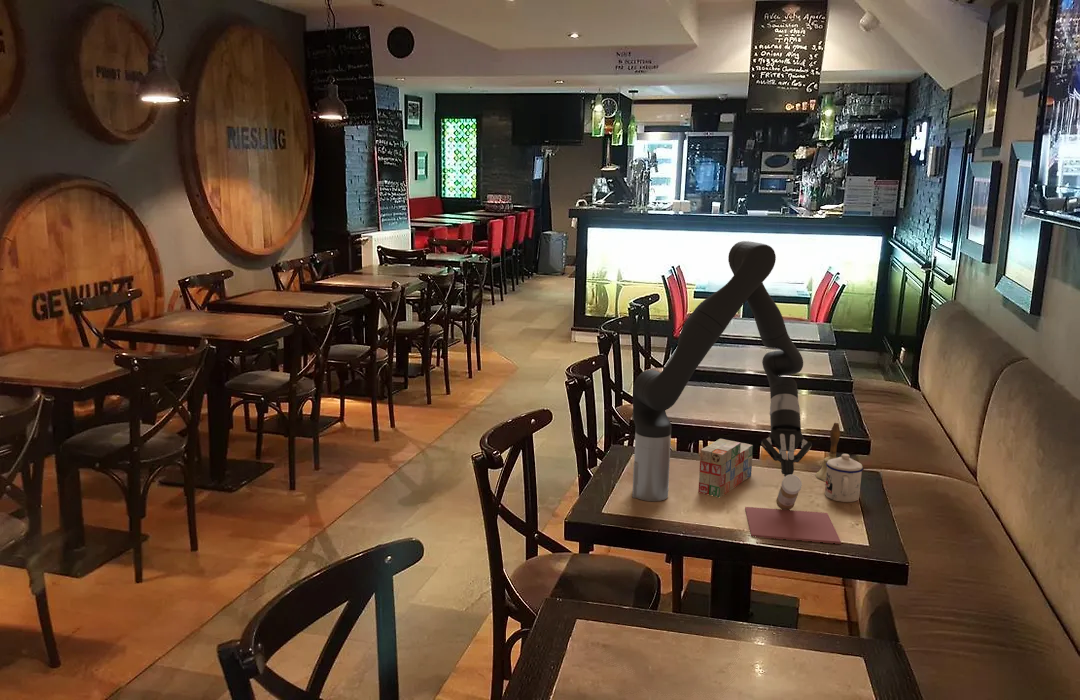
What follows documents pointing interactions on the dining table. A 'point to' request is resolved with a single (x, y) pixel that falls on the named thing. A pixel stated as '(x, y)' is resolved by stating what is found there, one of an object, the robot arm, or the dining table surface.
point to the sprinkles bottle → (788, 492)
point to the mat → (791, 525)
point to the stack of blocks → (724, 466)
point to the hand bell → (834, 440)
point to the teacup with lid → (843, 479)
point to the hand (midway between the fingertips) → (787, 475)
